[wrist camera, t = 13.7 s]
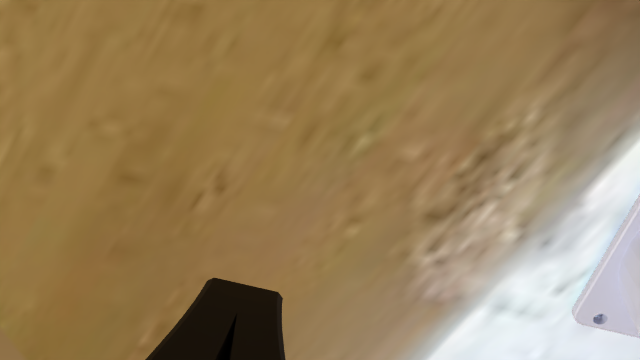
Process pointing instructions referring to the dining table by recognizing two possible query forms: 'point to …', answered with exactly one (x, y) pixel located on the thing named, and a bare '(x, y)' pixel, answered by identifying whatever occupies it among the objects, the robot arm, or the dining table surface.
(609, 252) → the robot arm
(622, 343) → the dining table surface
